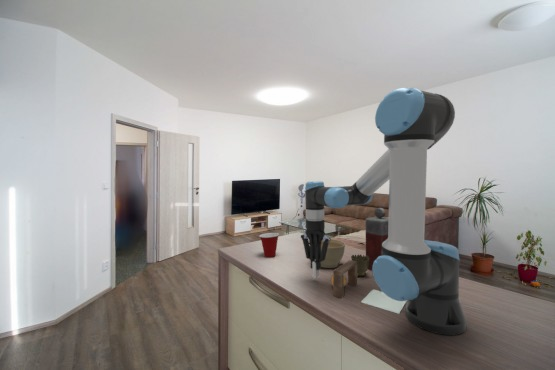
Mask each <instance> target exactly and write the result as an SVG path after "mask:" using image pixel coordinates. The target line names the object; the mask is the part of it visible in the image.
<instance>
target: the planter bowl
mask: <svg viewBox="0 0 555 370" xmlns="http://www.w3.org/2000/svg"><path fill="white" fill-rule="evenodd" d="M323 240H324V238H323ZM323 240H322V244H321V250H322V246H323V243H324V242H323ZM345 248H346V243H345V242H344V241H342V240H338V239H333V238H331V240H330V242H329V244H328V248H327V253H326V257H325V260H324V261H322V262H321V268H325V269H334V268H338V267H339V263H340V262H341V260H342V258H343V256H344V253H345V250H346V249H345Z"/></svg>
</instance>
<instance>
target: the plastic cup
mask: <svg viewBox="0 0 555 370" xmlns="http://www.w3.org/2000/svg"><path fill="white" fill-rule="evenodd" d="M279 235H280V233H278V232H267V233H262V234H259V238H260V240H261V241H260V242H261V246H262V250H263V255H264V257H265V258H269V259H271V258H275V257H276V253H277V246H278V240H279Z"/></svg>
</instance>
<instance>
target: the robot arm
mask: <svg viewBox="0 0 555 370" xmlns="http://www.w3.org/2000/svg"><path fill="white" fill-rule="evenodd" d="M455 118H456V110H455V107H454V104H453V102H452V101H451V100H450V99H449V98H448V97H446V96H444V95H442V94H438V93H433V92H429V91H425V90H421V89H419V88H416V87H415V88H414V87H399V88H395V89H394V90H392V91H390V92H389V93H388V94H386V95H385V96H384V97H383V99H382V100H381V101H380V102H379V104H378V106H377V109H376V111H375V117H374V120H375V126H376V128H377V129H378V131H379V132H380V133H382V135H383V145H384V146H385V147H386V148H387V150H386V151H385V152H384V153H383V154H382V155H381V156H380V157H379V158H378V159H377V160H376V161H375V162H374V163H373V164H372V165H371V166H370V167H369V168H368V169H367V170H366V171H365V172H364V174H362V175H361V176H360V177H359V178H358V179H357V181H355V182H354V183H353V184H352V185H348V186H347V185H346V186H345V185H344V186H325V183H324V181H321V180H319V181H318V180H317V181H307V182H305V190H304V193H305V195H304V196H305V219H306V220H305V230H306V231H305V233H303V234H301V235H300V239H301V240H302V244H303V249H304V254H305V258H306V259H307V260H310V269H312V278H313V279H317V278H319V277H320V270H321V268H322V267H321V262H322V261H324V260H325V257H326V253H327V248H328V244H329V242H330V240H331V239H332V238H331V237H327V236H326V231H325V223H326V222H325V220H324V219H325V208H331V209H343V208H344V207H348V206H349V207H350V206H362V205H363V206H364V205H365V204H368V203H370V202H371V201H372V200H373V196H374V194H375V193H376V191H378V190H379V189H381V187H382V186H384V185H385V184H386V183H387V182H388V183H389V185H388V187H389V188H388V218H389V224H388V239H387V240H385V241H384V242H383V243H382V256H379V257H378V258H377V259H376V260H375V261H374V263H373V267H372V270H371V271H372V275H373V279H374V281H375V283H376V285H377V286H378V287H379V289H380V291H381V292H383V293H385V294H386V295H387V296H388V297H390V298H392V299H394V300H397V301H406V300H407V302H406V304H405V316H406V317H407V319H408V320H409V321H410V322H411V323H412V324H413V325H415V326H417V327H419V328H421V329H423V330H425V331H428V332H431V333H434V334H439V335H445V336H456V335H461V334H463V333H465V332H466V330H467V318H466V314H465V313H464V309H463V307H462V305H461V302H460V298H459V296H460V295H459V292H460V261H461V259H460V254H459V252H460V251H459V249H458V247H456V246H454V245H452V244H449V243H445V242H440V241H434V240H427V239H425V229H426V226H425V225H426V200H427V199H426V197H427V196H426V195H427V194H426V193H427V166H428V165H427V164H428V161H427V159H428V150H430V149H432V148H433V147H434V146H435V145H436V144H437V143H438V142H439V141H440V140H441V139H442V138H444V136H445V135H446V134H447V133H448V132H449V131H450V129H451V128H452V126H453V124H454V121H455ZM323 239H324V240H323ZM322 240H323V242H324V243H323V246H322V250H321V244H322Z"/></svg>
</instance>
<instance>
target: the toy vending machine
mask: <svg viewBox="0 0 555 370" xmlns="http://www.w3.org/2000/svg"><path fill="white" fill-rule="evenodd" d="M374 215H375V216H373V217H367V218H365V256H367V257H369V266H368V270H369V271H372V267H373V263H374V261H375V260H376V259H377V258H378V257H379V256H382V243H383V242H384V241H385V240H387V239H388V224H389V217H385V216H386V210H385V209H384V208H383V207H377V208H375V209H374Z"/></svg>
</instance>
